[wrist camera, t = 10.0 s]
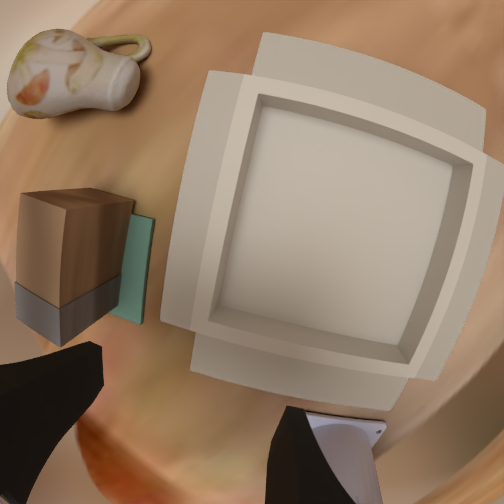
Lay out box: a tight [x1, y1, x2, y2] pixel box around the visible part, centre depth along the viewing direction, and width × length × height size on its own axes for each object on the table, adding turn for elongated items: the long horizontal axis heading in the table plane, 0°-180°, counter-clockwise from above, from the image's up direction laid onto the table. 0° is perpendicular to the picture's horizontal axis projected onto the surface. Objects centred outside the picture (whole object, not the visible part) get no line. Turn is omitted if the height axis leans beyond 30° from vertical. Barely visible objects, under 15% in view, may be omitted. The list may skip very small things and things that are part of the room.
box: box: [15, 188, 134, 348], centre depth 16 cm, size 4×8×7 cm, turn 164°
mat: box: [108, 213, 155, 325], centre depth 20 cm, size 8×8×1 cm
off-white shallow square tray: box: [160, 32, 504, 411], centre depth 17 cm, size 21×19×3 cm
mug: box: [7, 29, 151, 119], centre depth 15 cm, size 8×10×10 cm
